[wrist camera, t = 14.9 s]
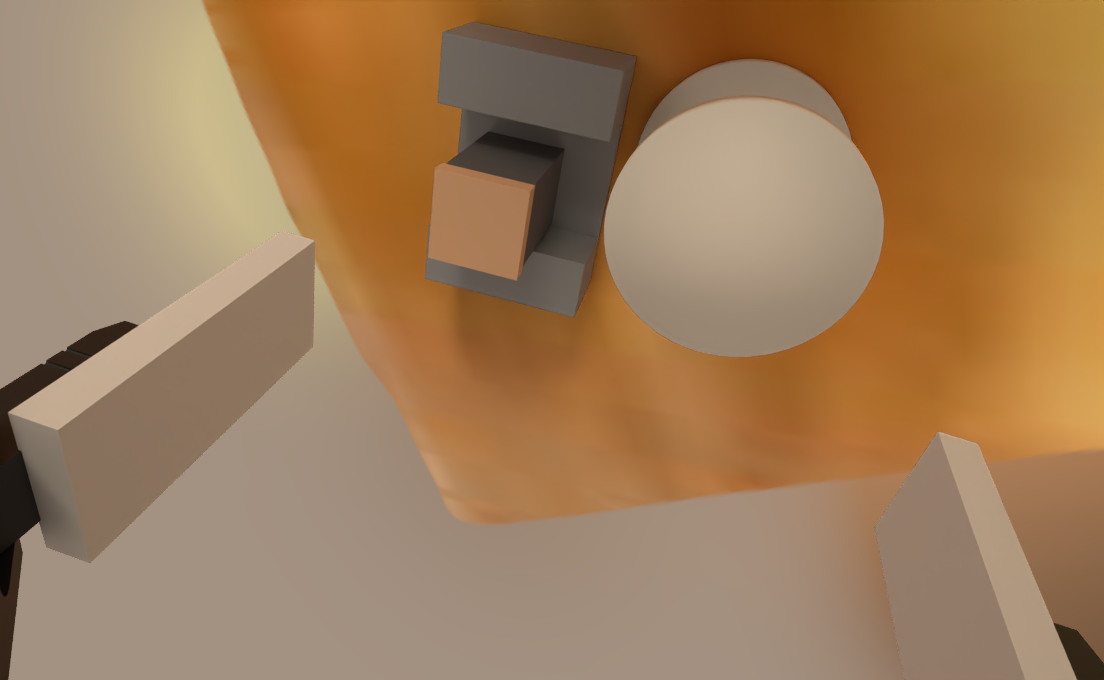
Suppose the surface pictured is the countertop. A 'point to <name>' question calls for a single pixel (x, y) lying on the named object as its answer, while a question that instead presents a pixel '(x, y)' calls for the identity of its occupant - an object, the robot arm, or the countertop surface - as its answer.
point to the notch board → (548, 118)
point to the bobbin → (744, 213)
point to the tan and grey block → (494, 203)
